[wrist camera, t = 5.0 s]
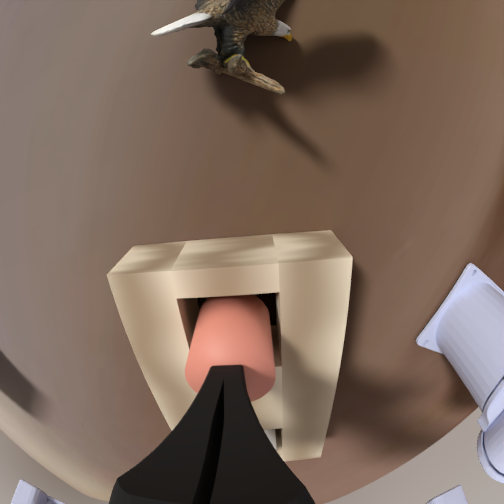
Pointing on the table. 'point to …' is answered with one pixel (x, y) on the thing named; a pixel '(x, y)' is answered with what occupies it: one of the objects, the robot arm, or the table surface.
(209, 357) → the pink rounded plug
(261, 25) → the eagle figurine
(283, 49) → the table surface
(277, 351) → the press housing
